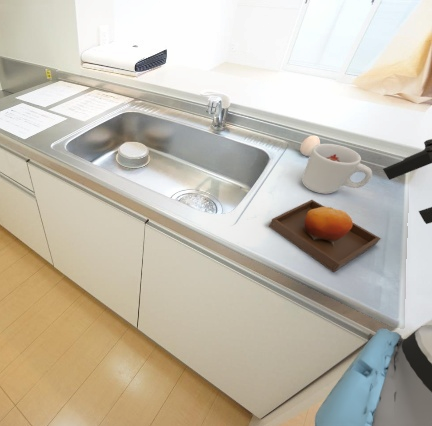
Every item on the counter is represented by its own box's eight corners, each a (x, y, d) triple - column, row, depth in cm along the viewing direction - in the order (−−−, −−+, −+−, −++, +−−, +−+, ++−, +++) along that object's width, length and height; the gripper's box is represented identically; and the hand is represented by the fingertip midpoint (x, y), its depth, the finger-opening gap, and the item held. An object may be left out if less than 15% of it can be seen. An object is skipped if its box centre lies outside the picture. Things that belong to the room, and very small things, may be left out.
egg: (294, 151, 91) (302, 132, 86) (309, 151, 91) (318, 132, 86) (301, 159, 87) (311, 139, 83) (317, 159, 87) (327, 139, 83)
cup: (359, 189, 75) (382, 155, 68) (353, 209, 69) (378, 173, 62) (302, 172, 82) (318, 139, 75) (292, 188, 76) (308, 154, 69)
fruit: (308, 244, 58) (318, 207, 57) (294, 235, 66) (303, 202, 64) (353, 252, 56) (365, 213, 55) (334, 242, 64) (344, 208, 62)
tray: (374, 246, 60) (381, 238, 58) (333, 272, 55) (339, 264, 54) (307, 206, 70) (311, 199, 69) (268, 226, 65) (272, 218, 64)
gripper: (714, 192, 31) (450, 255, 45) (531, 109, 49) (381, 172, 63) (713, 145, 29) (434, 226, 42) (521, 76, 47) (367, 148, 60)
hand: (402, 194), depth 52 cm, fingers open, 13 cm apart
